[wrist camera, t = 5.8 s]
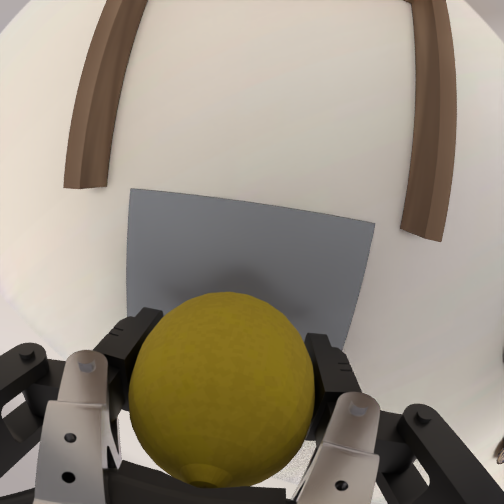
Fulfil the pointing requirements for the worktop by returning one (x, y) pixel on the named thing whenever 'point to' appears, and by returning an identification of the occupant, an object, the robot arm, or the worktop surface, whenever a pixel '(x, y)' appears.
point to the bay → (425, 125)
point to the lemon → (222, 391)
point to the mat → (246, 257)
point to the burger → (501, 457)
